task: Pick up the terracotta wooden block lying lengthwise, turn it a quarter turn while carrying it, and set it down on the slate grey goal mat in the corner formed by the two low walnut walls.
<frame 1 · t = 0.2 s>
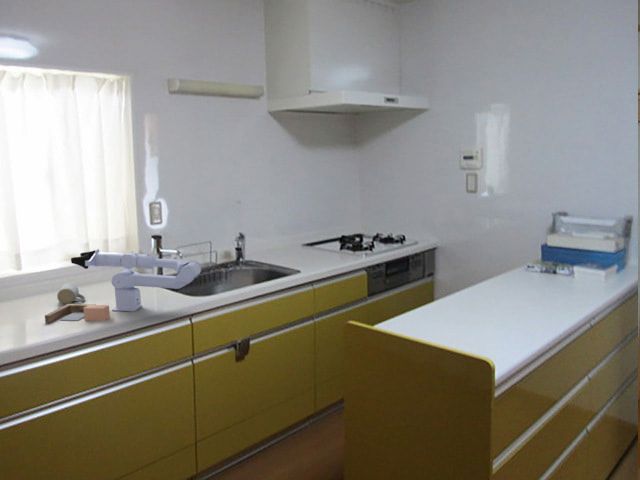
hand: (76, 258, 226), 21 cm above the counter, tool horizontal, fingers open, 7 cm apart
ceramic mug: (71, 302, 239), on the counter
brown l-shaped piece: (69, 311, 224), on the counter
block: (97, 319, 215), on the counter
goal mat: (76, 316, 217), on the counter
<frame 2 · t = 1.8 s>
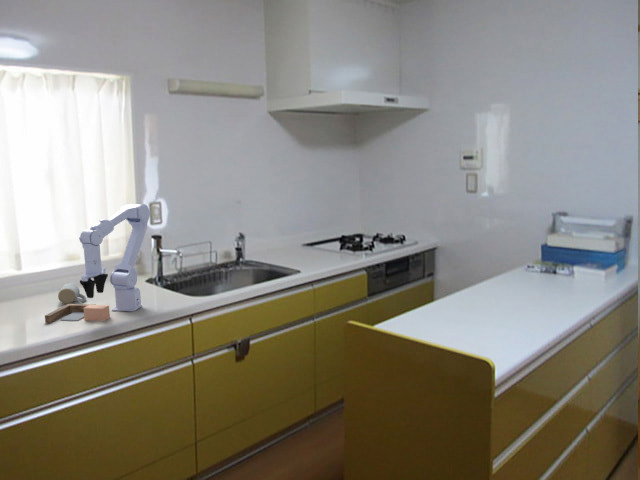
hand: (95, 295, 213), 9 cm above the counter, tool pointing down, fingers open, 7 cm apart
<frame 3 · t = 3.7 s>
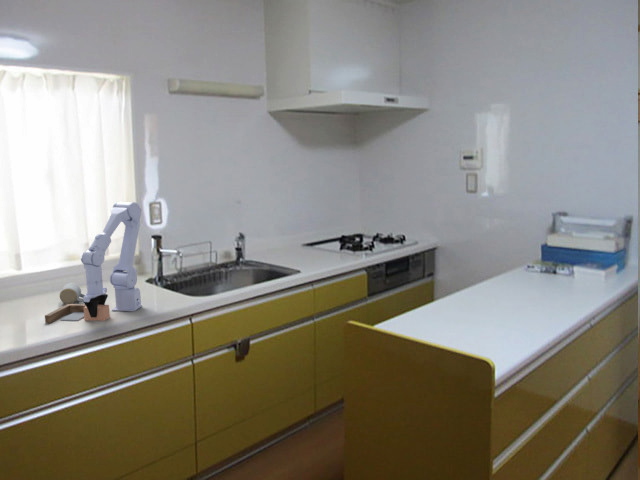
hand: (97, 315, 215), 1 cm above the counter, tool pointing down, fingers closed on block, 4 cm apart
block: (97, 318, 215), on the counter, touching gripper
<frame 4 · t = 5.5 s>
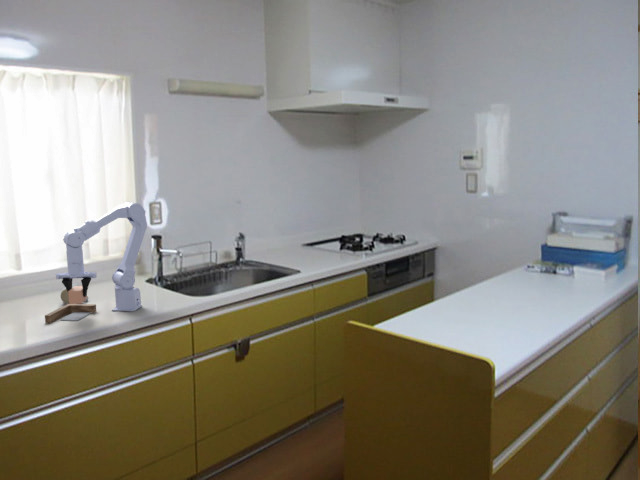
hand: (78, 296, 215), 8 cm above the counter, tool pointing down, fingers closed on block, 5 cm apart
block: (78, 300, 216), point 7 cm above the counter, touching gripper
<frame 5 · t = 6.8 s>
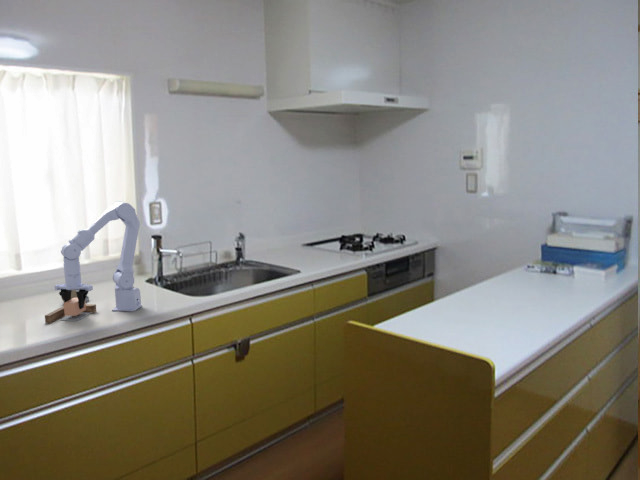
hand: (75, 308, 217), 4 cm above the counter, tool pointing down, fingers closed on block, 5 cm apart
block: (75, 312, 217), point 2 cm above the counter, touching gripper
when the fingers open (3 cm above the counter, at t = 7.8 s): block stays where it is, resting on goal mat.
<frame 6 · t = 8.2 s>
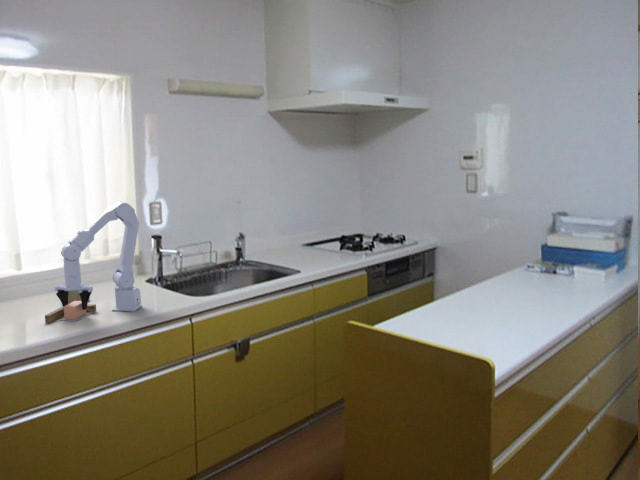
hand: (75, 309, 217), 3 cm above the counter, tool pointing down, fingers open, 7 cm apart
block: (75, 316, 217), resting on goal mat
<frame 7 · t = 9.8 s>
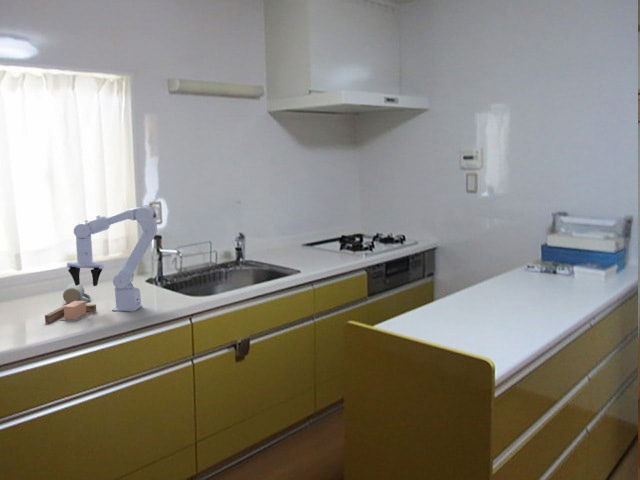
hand: (86, 285, 225), 10 cm above the counter, tool pointing down, fingers open, 7 cm apart
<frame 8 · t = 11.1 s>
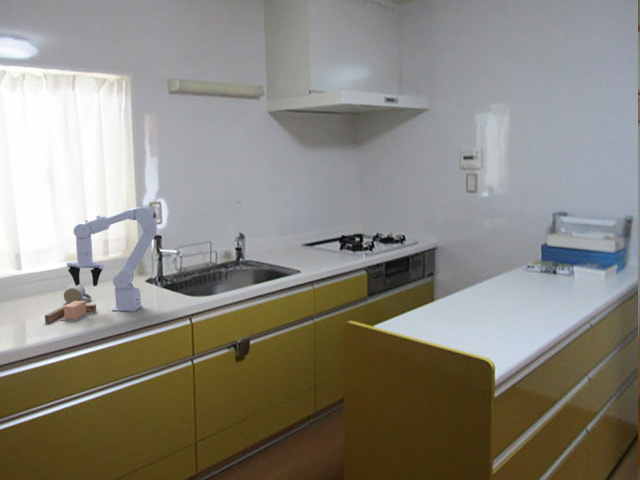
hand: (86, 285, 225), 10 cm above the counter, tool pointing down, fingers open, 7 cm apart
at the end: block 0.2 cm from the target spot, resting on goal mat; block tilted 0°; the gripper is holding nothing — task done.
